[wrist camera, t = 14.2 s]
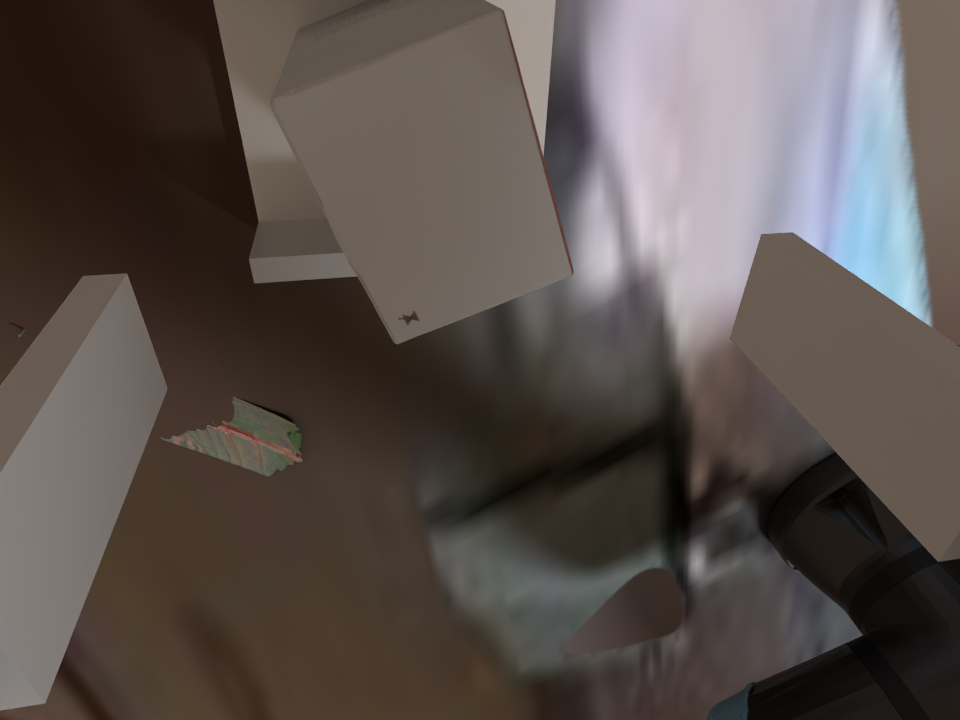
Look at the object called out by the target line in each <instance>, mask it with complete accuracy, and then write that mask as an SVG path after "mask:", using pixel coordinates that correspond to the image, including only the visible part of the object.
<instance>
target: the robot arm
mask: <svg viewBox="0 0 960 720" xmlns="http://www.w3.org/2000/svg"><path fill="white" fill-rule="evenodd" d="M730 339H731V340H732V341H733V342H734V343H735V344H736V345H737V346H738V348H739V349H740V350H741V351H742V352H743V353H744V354H745V355H746V356H747V357H748V358H749V359H750V360H751V361H752V363H753V364H754V365H755V366H756V367H757V368H758V369H759V370H760V371H761V372H762V373H763V374H764V375H765V377H766V378H767V379H768V380H769V381H770V382H771V383H772V384H773V385H774V386H775V387H776V388H777V389H778V390H779V392H780V393H781V394H782V395H783V396H784V397H785V398H786V399H787V400H788V401H789V402H790V403H791V404H792V406H793V407H794V408H795V409H796V410H797V411H798V412H799V413H800V414H801V415H802V416H803V417H804V418H805V419H806V421H807V422H808V423H809V424H810V425H811V426H812V427H813V428H814V429H815V430H816V431H817V432H818V433H819V434H820V436H821V437H822V438H823V439H824V440H825V441H826V442H827V443H828V444H829V445H830V446H831V447H832V448H833V450H834V451H835V452H836V453H837V454H836V455H834V456H832V457H830V458H828V459H826V460H825V461H823V462H821V463H820V464H818V465H817V466H815V467H814V468H812V469H811V470H809V471H808V472H807V473H805V474H804V475H803V476H802V477H800V478H799V479H798V480H797V481H796V482H795V483H794V484H793V485H792V486H791V487H790V488H789V489H788V490H787V491H786V492H785V493H784V494H783V496H782V497H781V498H780V500H779V501H778V503H777V504H776V506H775V507H774V509H773V511H772V513H771V516H770V519H769V523H768V536H769V539H770V541H771V543H772V544H773V546H774V547H775V549H776V550H777V551H778V553H779V554H780V556H781V557H782V559H783V560H784V561H785V562H786V563H787V565H788V566H790V567H791V568H792V569H794V570H795V571H796V572H798V573H800V574H802V575H804V576H805V577H806V578H807V579H808V580H809V581H811V582H812V583H813V584H814V585H815V586H816V587H817V588H819V589H820V590H821V591H822V592H823V593H825V594H826V595H827V596H828V597H829V598H831V599H832V600H833V601H834V602H835V603H837V604H838V605H839V606H840V607H841V608H842V609H843V610H844V611H845V612H846V613H847V614H848V615H849V617H850V618H851V620H852V621H853V622H854V624H855V625H856V626H857V628H858V629H859V630H860V632H861V633H862V634H863V636H861V637H859V638H857V639H854V640H852V641H850V642H848V643H846V644H843V645H841V646H838V647H836V648H834V649H832V650H830V651H827V652H825V653H823V654H821V655H819V656H817V657H814V658H812V659H810V660H808V661H806V662H803V663H801V664H799V665H796V666H794V667H792V668H789V669H787V670H785V671H782V672H780V673H778V674H776V675H773V676H771V677H769V678H766V679H764V680H762V681H759V682H757V683H756V682H752V683H749V684H748V685H747V686H746V687H745V688H744V690H742V691H740V692H738V693H736V694H735V695H733V696H731V697H729V698H727V699H725V700H723V701H721V702H719V703H717V704H716V705H715V706H714V707H713V708H712V709H711V710H710V712H709V714H708V716H707V720H960V346H959V345H957V344H955V343H953V342H952V341H950V340H949V339H948V338H946V337H945V336H943V335H942V334H940V333H939V332H937V331H936V330H934V329H933V328H931V327H930V326H929V325H927V324H926V323H924V322H923V321H921V320H920V319H918V318H917V317H915V316H914V315H912V314H911V313H910V312H908V311H907V310H905V309H904V308H902V307H901V306H899V305H898V304H896V303H895V302H893V301H892V300H891V299H889V298H888V297H886V296H885V295H883V294H882V293H880V292H879V291H877V290H876V289H875V288H873V287H872V286H870V285H869V284H867V283H866V282H864V281H863V280H861V279H860V278H858V277H857V276H856V275H854V274H853V273H851V272H850V271H848V270H847V269H845V268H844V267H842V266H841V265H839V264H838V263H837V262H835V261H834V260H832V259H831V258H829V257H828V256H826V255H825V254H823V253H822V252H820V251H819V250H818V249H816V248H815V247H813V246H812V245H810V244H809V243H807V242H806V241H804V240H803V239H801V238H800V237H799V236H797V235H796V234H794V233H793V232H791V233H775V234H761V237H760V240H759V244H758V247H757V250H756V254H755V257H754V260H753V264H752V267H751V270H750V274H749V277H748V280H747V284H746V287H745V290H744V294H743V297H742V300H741V304H740V307H739V310H738V314H737V317H736V320H735V324H734V327H733V330H732V334H731V337H730ZM167 389H168V388H167V386H166V383H165V380H164V377H163V374H162V371H161V369H160V366H159V363H158V360H157V357H156V354H155V351H154V349H153V346H152V343H151V340H150V337H149V334H148V332H147V329H146V326H145V323H144V320H143V317H142V314H141V312H140V309H139V306H138V303H137V300H136V297H135V295H134V292H133V289H132V286H131V283H130V280H129V278H128V275H127V273H125V274H109V275H93V276H83V277H82V278H81V280H80V281H79V282H78V284H77V285H76V286H75V288H74V289H73V290H72V292H71V293H70V294H69V296H68V297H67V298H66V300H65V301H64V302H63V303H62V305H61V306H60V307H59V309H58V310H57V311H56V313H55V314H54V315H53V317H52V318H51V319H50V321H49V322H48V323H47V325H46V326H45V327H44V329H43V330H42V331H41V333H40V334H39V335H38V337H37V338H36V339H35V340H34V342H33V343H32V344H31V346H30V347H29V348H28V350H27V351H26V352H25V354H24V355H23V356H22V358H21V359H20V360H19V362H18V363H17V364H16V366H15V367H14V368H13V370H12V371H11V372H10V374H9V375H8V376H7V377H6V379H5V380H4V381H3V383H2V384H1V385H0V710H6V709H12V708H19V707H25V706H31V705H38V704H44V703H45V702H46V700H47V697H48V695H49V692H50V689H51V687H52V684H53V682H54V679H55V677H56V674H57V671H58V669H59V666H60V664H61V661H62V659H63V656H64V653H65V651H66V648H67V646H68V643H69V641H70V638H71V635H72V633H73V630H74V628H75V625H76V623H77V620H78V617H79V615H80V612H81V610H82V607H83V605H84V602H85V599H86V597H87V594H88V592H89V589H90V587H91V584H92V581H93V579H94V576H95V574H96V571H97V569H98V566H99V563H100V561H101V558H102V556H103V553H104V551H105V548H106V545H107V543H108V540H109V538H110V535H111V533H112V530H113V528H114V525H115V522H116V520H117V517H118V515H119V512H120V510H121V507H122V504H123V502H124V499H125V497H126V494H127V492H128V489H129V486H130V484H131V481H132V479H133V476H134V474H135V471H136V468H137V466H138V463H139V461H140V458H141V456H142V453H143V450H144V448H145V445H146V443H147V440H148V438H149V435H150V432H151V430H152V427H153V425H154V422H155V420H156V417H157V414H158V412H159V409H160V407H161V404H162V402H163V399H164V396H165V394H166V391H167Z"/></svg>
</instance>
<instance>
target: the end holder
mask: <svg viewBox="0 0 960 720" xmlns="http://www.w3.org/2000/svg"><path fill="white" fill-rule="evenodd" d="M366 1H368V0H213V2H214V7H215V11H216V16H217V21H218V26H219V31H220V36H221V41H222V46H223V50H224V55H225V60H226V65H227V70H228V75H229V80H230V85H231V89H232V94H233V99H234V104H235V109H236V114H237V119H238V124H239V128H240V133H241V138H242V143H243V148H244V153H245V158H246V162H247V167H248V172H249V177H250V182H251V187H252V192H253V197H254V201H255V206H256V211H257V216H258V221H259V222H258V226H257V230H256V234H255V238H254V241H253V245H252V249H251V253H250V256H249V262H250V266H251V271H252V275H253V280H254V283H268V282H282V281H297V280H311V279H326V278H340V277H354V276H357V275H356V274H355V272H354V271H353V269H352V268H351V266H350V264H349V262H348V260H347V258H346V256H345V255H344V253H343V251H342V249H341V248H340V246H339V244H338V242H337V240H336V238H335V236H334V234H333V231H332V229H331V227H330V225H329V222H328V220H327V218H326V216H325V214H324V212H323V210H322V208H321V207H320V205H319V203H318V201H317V199H316V197H315V195H314V193H313V191H312V189H311V187H310V185H309V183H308V181H307V179H306V177H305V175H304V173H303V171H302V169H301V167H300V165H299V163H298V161H297V159H296V157H295V155H294V153H293V151H292V149H291V147H290V145H289V143H288V141H287V139H286V137H285V135H284V133H283V131H282V129H281V127H280V125H279V123H278V121H277V119H276V117H275V115H274V113H273V111H272V108H271V105H270V102H271V97H272V95H273V93H274V91H275V88H276V86H277V83H278V81H279V78H280V75H281V72H282V70H283V67H284V64H285V62H286V60H287V57H288V54H289V51H290V48H291V46H292V43H293V41H294V38H295V36H296V33H297V31H298V30H299V29H300V28H302V27H304V26H307V25H309V24H312V23H314V22H317V21H319V20H322V19H324V18H327V17H329V16H332V15H334V14H336V13H339V12H341V11H344V10H346V9H348V8H351V7H353V6H356V5H358V4H361V3H363V2H366ZM486 1H487V2H489V3H491V4H493V5H495V6H497V7H499V8H501V9H502V10H504V13H505V16H506V20H507V24H508V27H509V31H510V34H511V38H512V42H513V45H514V49H515V53H516V56H517V60H518V64H519V67H520V71H521V75H522V79H523V83H524V87H525V90H526V94H527V98H528V101H529V105H530V109H531V112H532V116H533V120H534V123H535V127H536V131H537V134H538V138H539V142H540V146H541V150H542V153H543V154H544V142H545V129H546V116H547V103H548V91H549V78H550V65H551V52H552V40H553V27H554V14H555V1H556V0H486Z"/></svg>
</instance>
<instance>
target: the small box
mask: <svg viewBox="0 0 960 720" xmlns="http://www.w3.org/2000/svg"><path fill="white" fill-rule="evenodd" d="M270 105H271V108H272V111H273V113H274V115H275V117H276V119H277V121H278V123H279V125H280V127H281V129H282V131H283V133H284V135H285V137H286V139H287V141H288V143H289V145H290V147H291V149H292V151H293V153H294V155H295V157H296V159H297V161H298V163H299V165H300V167H301V169H302V171H303V173H304V175H305V177H306V179H307V181H308V183H309V185H310V187H311V189H312V191H313V193H314V195H315V197H316V199H317V201H318V203H319V205H320V207H321V208H322V210H323V212H324V214H325V216H326V218H327V220H328V222H329V225H330V227H331V229H332V231H333V234H334V236H335V238H336V240H337V242H338V244H339V246H340V248H341V249H342V251H343V253H344V255H345V256H346V258H347V260H348V262H349V264H350V266H351V268H352V269H353V271H354V272H355V274H356V275H357V277H358V278H359V280H360V282H361V283H362V285H363V287H364V289H365V291H366V292H367V294H368V296H369V298H370V300H371V301H372V303H373V305H374V307H375V309H376V311H377V313H378V315H379V316H380V318H381V320H382V322H383V324H384V326H385V327H386V329H387V331H388V333H389V335H390V337H391V339H392V340H393V342H394V343H395V344H400V343H402V342H405V341H407V340H409V339H412V338H414V337H417V336H419V335H422V334H425V333H427V332H430V331H433V330H435V329H438V328H441V327H443V326H446V325H449V324H451V323H454V322H456V321H459V320H461V319H464V318H467V317H469V316H472V315H474V314H477V313H479V312H482V311H484V310H487V309H490V308H492V307H495V306H497V305H499V304H502V303H505V302H507V301H509V300H512V299H514V298H517V297H520V296H522V295H525V294H527V293H530V292H533V291H535V290H538V289H540V288H543V287H545V286H548V285H550V284H552V283H555V282H557V281H560V280H563V279H565V278H568V277H570V276H572V275H573V267H572V263H571V259H570V255H569V251H568V248H567V244H566V240H565V236H564V232H563V228H562V224H561V221H560V217H559V213H558V209H557V205H556V202H555V198H554V194H553V191H552V187H551V183H550V179H549V176H548V172H547V168H546V165H545V161H544V157H543V153H542V150H541V146H540V142H539V138H538V134H537V131H536V127H535V123H534V120H533V116H532V112H531V109H530V105H529V101H528V98H527V94H526V90H525V87H524V83H523V79H522V75H521V71H520V67H519V64H518V60H517V56H516V53H515V49H514V45H513V42H512V38H511V34H510V31H509V27H508V24H507V20H506V16H505V13H504V10H502V9H501V8H499V7H497V6H495V5H493V4H491V3H489V2H487V1H486V0H368V1H366V2H363V3H361V4H358V5H356V6H353V7H351V8H348V9H346V10H344V11H341V12H339V13H336V14H334V15H332V16H329V17H327V18H324V19H322V20H319V21H317V22H314V23H312V24H309V25H307V26H304V27H302V28H300V29H299V30H298V31H297V33H296V36H295V38H294V41H293V43H292V46H291V48H290V51H289V54H288V57H287V60H286V62H285V64H284V67H283V70H282V72H281V75H280V78H279V81H278V83H277V86H276V88H275V91H274V93H273V95H272V97H271V102H270Z"/></svg>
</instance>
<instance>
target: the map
mask: <svg viewBox="0 0 960 720" xmlns="http://www.w3.org/2000/svg"><path fill="white" fill-rule="evenodd" d="M24 332H25V329H22V330H21V331H20V333H19V334H18V336H19V337H20V336H21V335H22V334H23V333H24ZM233 399H234V401H232V403H233V405H234V410H235V413H234V418H233V420H232V421H231V422H229V423H227V422H225V421H223V422H222V423H223V424H222V425H221V426H219V427H218V428H216V427H213V426H209V425H207V427H206V429H205V430H199V429H197V430H196V431H191V432H189V431H187V432H186V433H184V434H182V435H181V436H178V437H176V436H174V435H172V438H171V439H169V440H168V439H167V440H165V439H164V438H162V437H160V439H162V440H165V441H169V442H171V443H175V444H177V445H181V446H183V447H187V448H189V449H192V450H195V451H198V452H201V453H204V454H207V455H209V456H213V457H215V458H219V459H221V460H225V461H227V462H230V463H233V464H236V465H238V466H242V467H244V468H247V469H249V470H252V471H255V472H258V473H260V474H262V475H265V476H271V475H272V474H273V473H274V472H275V471H276V469H279V470H281V471H282V470H284V468H285V467H286V466H287V465H293V463H294V461H297V462H299V463H301V462H302V458H301V457H302V453H301V452H300V451H299V448H300V447H301V438H302V437H303V436H302V434H300V433H299V430H300V428H296V425H295V424H293V423H291V422H289V421H287V420H285V419H283V418H282V417H280V416H277V415H275V414H273V413H270V412H268V411H266V410H263V409H261V408H259V407H257V406H254V405H252V404H250V403H248V402H245V401H243V400H241V399H238V398H236V397H234V396H233ZM213 424H214V422H213ZM215 425H216V424H215ZM208 427H210V428H208ZM229 428H232V429H229ZM233 429H235V430H233ZM187 430H188V429H187ZM236 430H237V431H236ZM179 434H180V433H179Z"/></svg>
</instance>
